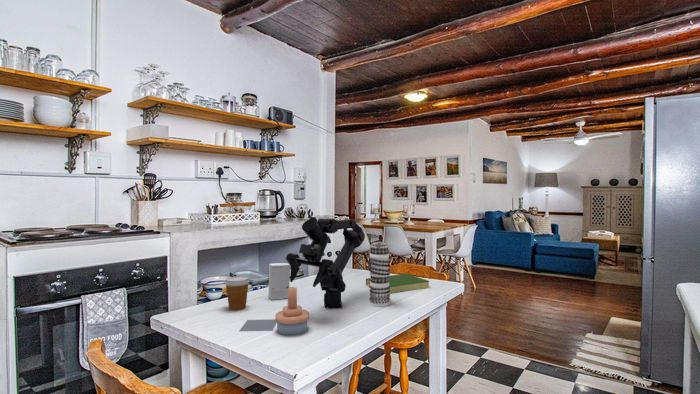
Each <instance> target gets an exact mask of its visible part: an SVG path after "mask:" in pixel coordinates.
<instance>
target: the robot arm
mask: <svg viewBox="0 0 700 394" xmlns="http://www.w3.org/2000/svg"><path fill="white" fill-rule="evenodd" d="M301 229H302V231H303V232H304V233H305V235H306V236H307V237H308V239H309V240H312V241H311V243H309V244H304V243H301V244H300V247H299V251H298V253H299V254H302V257H303V258H301V257H300V256H299V254H297V253H294V252H293V253H292V252H289V253H287V254H286V256H285V261H286V262H287V263H288V264H289V265H290V276H289V283H293V282H294V280H296V279H295V278H296V277H297V275H298V273H299V271H300V270H301V268H300V267H302V266H301V265H305V266H306V265H307V266H311V267H315V268H316V267H317V268H318V272H317V274H316V276H315V278H314V281H313V284H312V287H314V288H315V287H317V285H318V284H319V285H320V288H321V291H324V293H323V294H324V295H323V306H324V307H325V309H326V308H327V309H330V308H333V309H334V308H342V293H344V292H345V290H346V286H347V284H346V283H345V281H344V278H343V272H344V269H346V268H345V267H346V266H347V264H348V262H349V260H350V258H351V256H352V254H353V253H354V251H355V250H356V249H357V248H359V247H361V245H362V244H363V242H364V241H365V238H366V235H365V232H364V230H363V228H362V227H361V226H360V225H359V224H357V222H356V220H355V219H353V218H345V219H334V218H318V219H317V218H316V216H310V218H309V219H306V220H305V221H304V223H302V225H301ZM338 230H342V235H343V238H344V243H343V245H342V247H341V249H340V251H339V253H338V255H337V256H336V258H335V260H334V261H333V260H331V259H328V258H323V257H324V256H325V254H326V253H325V250H326V247H327V245H328V244H331V243H332V239H331V236H329V235H328V234H332V235H333V234H335V233H337V232H338ZM322 258H323V259H322Z"/></svg>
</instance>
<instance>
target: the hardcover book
mask: <svg viewBox="0 0 700 394" xmlns="http://www.w3.org/2000/svg"><path fill="white" fill-rule="evenodd" d="M370 281H371V277H369V278H365V286H368V287H369V286H370ZM429 282H430V280H428V279H424V278H422V277H421V278H420V277H419V276H415V275H412V274H409V273H402V274H392V275H389V286H390V289H389V290H390V292H389V294H390V295H391V294H396V293H403V292H408V291H409V292H410V291H415V290H423V289H429V286H430V285H429Z"/></svg>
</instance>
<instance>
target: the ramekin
mask: <svg viewBox="0 0 700 394" xmlns="http://www.w3.org/2000/svg"><path fill="white" fill-rule="evenodd" d="M308 320H309V319H308ZM308 320H307V321H305V322H302V323H298V324H282V323H278V322H277V323H276V332H277V334H279V335H282V336H289V337H290V336H293V337H294V336H299V335H302V334H305V333H306V332H308V329H309V327H308V324H309V323H308Z"/></svg>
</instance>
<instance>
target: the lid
mask: <svg viewBox="0 0 700 394" xmlns="http://www.w3.org/2000/svg"><path fill="white" fill-rule="evenodd" d="M297 290H298V289H297V287H294V286H291V287H290V286H289V288H288V298H287V305H285V306H283V307H282V310H280V311H278V312H276V313H275V319H276V321H277V322H278V323H282V324H298V323H302V322H305V321H307V320H310V312H309V311H308V310H306V309H303V307H302V306H301V305H298V291H297Z"/></svg>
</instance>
